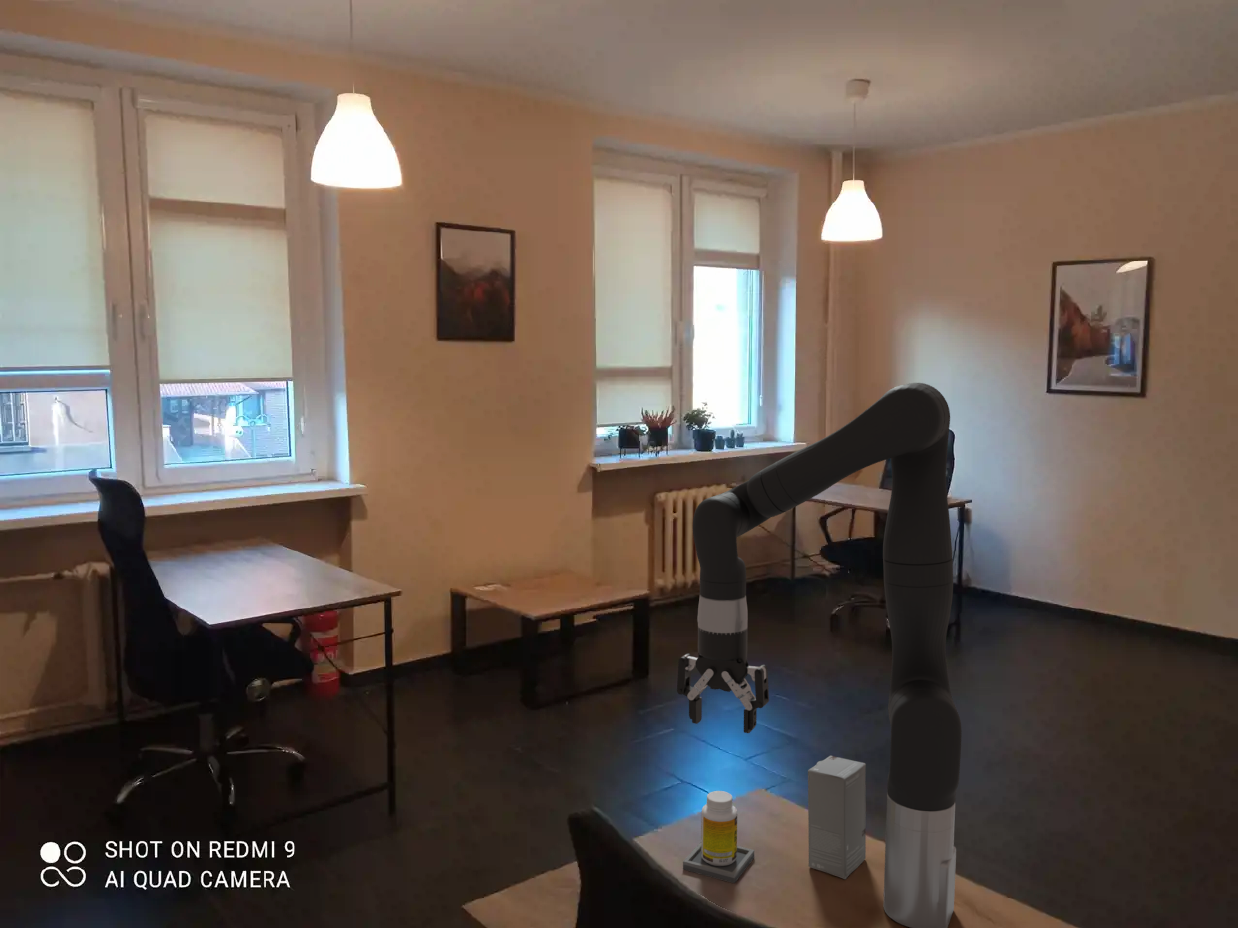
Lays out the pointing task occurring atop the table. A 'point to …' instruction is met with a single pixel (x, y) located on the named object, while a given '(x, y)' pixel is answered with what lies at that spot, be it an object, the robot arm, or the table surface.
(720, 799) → the supplement bottle
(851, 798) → the skincare box
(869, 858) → the table surface
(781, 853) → the table surface
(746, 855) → the charcoal tray
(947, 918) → the robot arm
